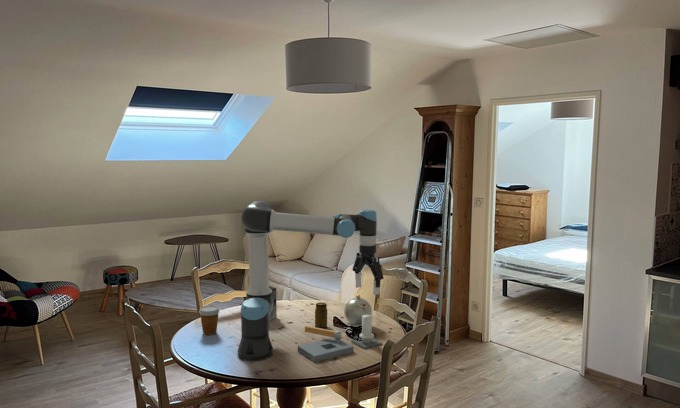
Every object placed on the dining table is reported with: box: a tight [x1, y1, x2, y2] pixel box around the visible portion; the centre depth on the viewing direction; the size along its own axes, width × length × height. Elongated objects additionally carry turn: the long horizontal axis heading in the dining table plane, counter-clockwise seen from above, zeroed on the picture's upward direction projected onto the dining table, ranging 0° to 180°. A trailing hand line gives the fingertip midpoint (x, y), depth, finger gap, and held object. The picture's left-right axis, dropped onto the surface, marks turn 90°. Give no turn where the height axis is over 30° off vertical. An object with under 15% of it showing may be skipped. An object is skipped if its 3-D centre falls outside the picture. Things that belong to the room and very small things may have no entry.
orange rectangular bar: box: [304, 325, 342, 340], centre depth 251 cm, size 18×3×3 cm, turn 62°
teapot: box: [343, 294, 373, 327], centre depth 275 cm, size 18×14×16 cm
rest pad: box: [351, 338, 383, 350], centre depth 252 cm, size 10×10×1 cm
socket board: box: [297, 337, 354, 363], centre depth 242 cm, size 20×14×4 cm
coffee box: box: [269, 285, 278, 321], centre depth 285 cm, size 9×6×16 cm
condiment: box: [311, 301, 333, 330], centre depth 272 cm, size 7×8×12 cm
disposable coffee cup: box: [198, 305, 220, 336], centre depth 264 cm, size 10×10×12 cm
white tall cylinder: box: [359, 315, 375, 343], centre depth 251 cm, size 7×7×12 cm
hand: (367, 290), depth 249 cm, fingers open, 13 cm apart
